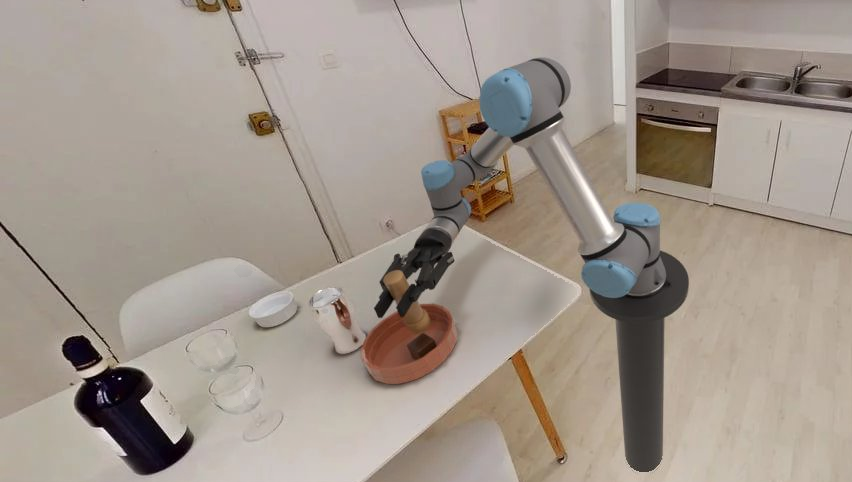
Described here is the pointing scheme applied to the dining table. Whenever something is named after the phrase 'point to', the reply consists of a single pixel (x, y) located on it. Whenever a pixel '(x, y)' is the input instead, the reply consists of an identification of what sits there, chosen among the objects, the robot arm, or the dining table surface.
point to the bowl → (391, 353)
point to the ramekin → (274, 309)
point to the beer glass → (337, 318)
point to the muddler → (415, 315)
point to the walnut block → (421, 346)
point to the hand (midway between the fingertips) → (389, 312)
